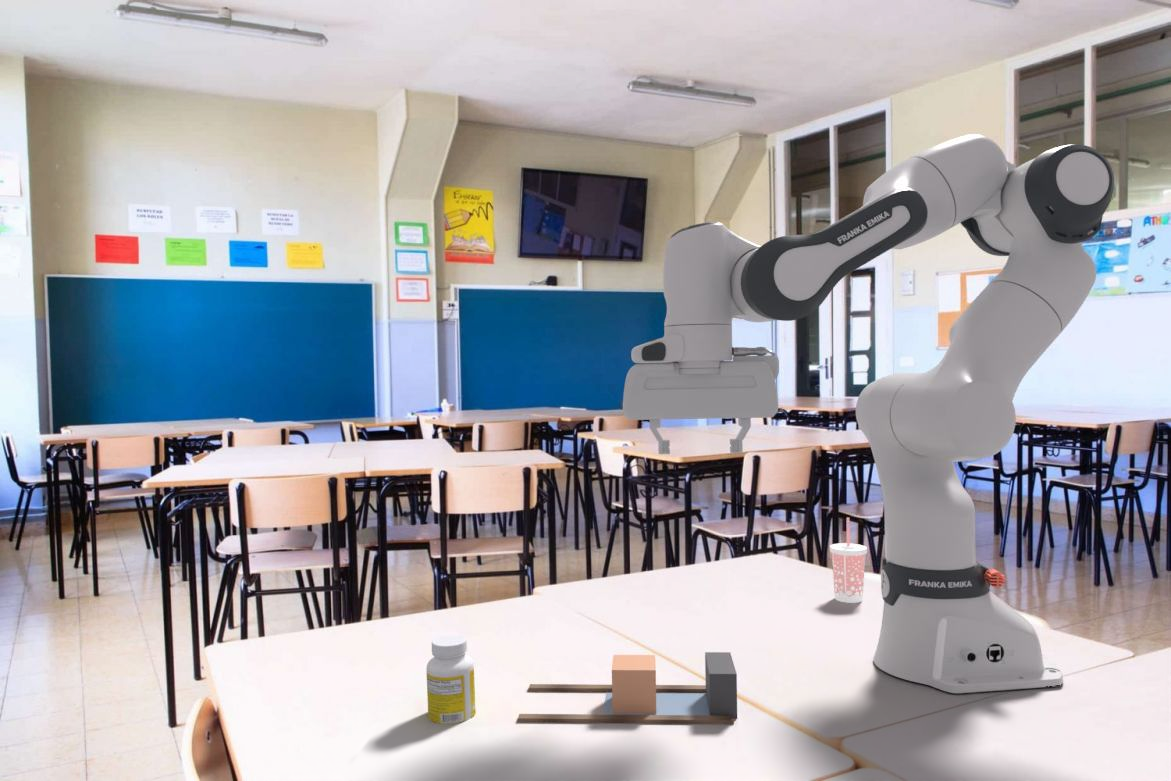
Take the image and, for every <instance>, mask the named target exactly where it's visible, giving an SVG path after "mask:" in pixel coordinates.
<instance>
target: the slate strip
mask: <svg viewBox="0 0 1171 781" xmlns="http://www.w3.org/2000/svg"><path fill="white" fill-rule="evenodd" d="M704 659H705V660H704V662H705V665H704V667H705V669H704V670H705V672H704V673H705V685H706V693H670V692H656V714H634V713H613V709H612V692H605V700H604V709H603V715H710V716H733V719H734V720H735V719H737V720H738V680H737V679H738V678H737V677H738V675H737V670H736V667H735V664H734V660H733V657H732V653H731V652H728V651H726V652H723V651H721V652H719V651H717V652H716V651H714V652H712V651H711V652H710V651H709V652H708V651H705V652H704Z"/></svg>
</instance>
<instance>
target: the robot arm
mask: <svg viewBox="0 0 1171 781" xmlns="http://www.w3.org/2000/svg"><path fill="white" fill-rule="evenodd" d="M1016 166H1017V165H1016V164H1014V163H1011V162H1010V161H1008V160H1007V158H1006V155H1005V153H1004V151H1003V149H1002V148H1001V147H1000V146H999V145H998V144H997V143H996V142H995V141H994V140H993V139H991V138H989V137H988V136H985V135H982V134H976V133H972V134H971V133H970V134H966V135H963V136H958V137H956V138H951V139H949V140H947V141H943V142H941V143H939V144H936V145H933V146H931V147H929V148H926V149H924V150H921V151H920V152H918V153H916V154H914V155H911V156H910V157H908V158H906V159H904V160H902V161H901V162H899V163H897V164H896V165H894V166H893V167H891V168H890V169H888V170H887V171H886V172H884V173H883V174H882V175H881V176H879V177H878V178H877V179H876V180H875V181H873V182H872V183H871V184H870V185H868V187H867V188H866V190H865V192H864V196H863V202H862V206H860V208H858V209H856V210H855V211H853V212H851V213H850V214H848V215H845V216H844V217H842V218H841V219H838V220H837V221H834V222H833V223H832V224H830V225H828V226H827V227H824V228H822V229H820V230H819V231H817V232H814V233H810V234H793V235H792V234H791V235H784V236H779V237H778V236H777V237H776V238H773V239H771V240H768V241H767V242H765V243H764V244H762V245H759V244H755V243H753V242H751V241H749V240H747V239H744V238H743V237H741V236H739V235H737V234H736V233H735V232H733V231H731V230H730V229H729V228H728V227H726V225H725V224H724V223H723V222H717V221H710V222H708V221H707V222H701V223H697V224H693V225H689V226H686V227H683V228H681V229H679V230H677V231H676V232H674V233H673V234H672V235H671V236H670V237H669V238H668V240H667V243H666V247H665V252H664V258H663V260H664V261H663V282H662V283H663V296H664V299H665V304H666V315H665V319H664V323H663V325H664V326H663V327H664V328H663V330H664V335H663V337H659V338H654V339H653V338H652V339H650V340H649V341H648V342H645V343H642V344H639V345H637V346H634V347H633V348H632V349H631V353H630V354H631V361H632V362H633V363H635V364H634V365H633V366H631V367H630V368H629V370H628V372H627V373H626V377H625V380H624V386H623V387H624V388H623V398H622V414H623V416H624V418H626V419H627V420H629V421H642V420H646V421H648V420H649V429H650V432H652V435H654V438H655V439H656V442H657V443H658V444H657V446H658V448H657V449H658V455H671V454H670V453H671V452H670V450H671V449H670V446H671V445H670V439H663V437H662V436H661V433H660V432H659V430H658V429H660V428H661V420H697V419H698V420H699V419H701V420H702V419H705V420H707V419H708V420H709V419H710V420H711V419H713V420H714V419H737V423H738V426H739V427H741V428H740V429H739V432H738V434H736V437H735V438H730V439H729V445H730V446H729V451H730V454H743V449H744V448H743V441H744V439H745V438H746V437H747V434H748V432H749V431H750V429H751V427H752V426H751V424H752V423H751V419H755V418H756V419H757V418H759V419H761V418H762V419H763V418H765V419H766V418H771V419H772V418H774V417H775V416H776V414H778V411H779V398H778V391H777V384H776V379H777V378H778V376H779V372H780V360H779V357H778V355H777V354H776V353H775V352H774V351H772V350H770V349H768V348H767V347H765V346H756V347H748V346H747V347H744V346H743V347H740V346H739V347H734V346H733V318H735V319H739V320H744V321H747V322H752V323H765V322H766V323H767V322H774V321H783V322H784V321H785V322H789V321H797V320H800V319H803V318H806V317H808V316H809V315H811V314H812V313H814V312H815V311H816V310H817V309H818V308H820V307H821V305H822V304H823V303H824V301H825V300H826V299H827V298H828V296H829V295H830V293H831V292H832V291H833V290H834V287H835V286H837V284H838V283H839V282H840V281H841V280H842V279H844V277H846V276H847V275H849V274H850V273H852V272H854V271H855V270H857V269H859V268H860V267H862V266H864V265H866V264H867V263H869V262H871V261H873V260H875V259H877V258H878V257H879V256H881V255H883V254H885V253H886V252H888V251H889V250H892V249H893V250H894V249H895V250H903V249H906V248H910V247H913V246H916V245H918V244H922V243H924V242H926V241H928V240H932V239H933V238H936V237H937V236H939V235H941V234H943V233H945V232H947V231H948V230H950V229H952V228H954V227H956V226H957V225H959V224H960V225H961V227H963V228H964V229H965V230H966V232H967V234H968V236H969V237H970V239H971V241H972V242H973V243H974V244H975V246H977V247H978V248H979V249H980V250H981V251H983V252H985V253H987V254H989V255H992V256H995V257H1007V260H1006V263H1005V264H1004V266H1003V268H1002V270H1001V271H1000V272H998V274H997V275H996V276H995V277H994V278H992V279H991V281H990V282H989V283H988V284H987V285H986V286H985V287H984V288H983V290H982V291H981V292H979V294H978V295H977V296H976V297H975V298H974V300H973V301H972V302H971V303H970V304H969V305H968V306H967V307H966V309H964V310H963V312H961V314H959V316H958V317H957V319H955V321H954V322H952V324H951V327H950V329H949V333H948V335H949V337H948V338H949V343H950V344H949V346H948V348H947V350H946V352H945V354H944V356H943V357H942V359H941V361H940V362H939V363H937V364H936V366H934V367H933V368H931V369H930V370H928V371H925V372H897V373H892V374H889V375H886V376H883V377H881V378H878V379H876V380H873V381H872V382H870V383H869V384H867V385H866V386H865V387H864V388H863V389H862V391H861V392H860V394H859V396H858V398H857V401H856V404H855V419H856V423H857V425H858V427H859V429H860V431H861V432H862V433H863V435H864V436H865V438H866V439H867V441H868V443H869V446H870V449H871V452H872V453H871V454H872V457H873V460H874V464H875V467H876V472H877V475H878V480H879V483H880V488H881V493H882V500H883V508H884V513H883V514H884V545H885V546H884V548H885V549H884V550H885V555H884V556H883V557H882V560H881V570H880V590H881V596H882V597H881V598H882V600H883V609H882V610H883V611H882V619H881V625H880V632H879V638H878V641H877V646H876V649H875V652H874V655H873V658H872V659H873V664H875V666H876V667H877V668H879V670H882V671H883V672H885V673H886V674H889V675H891V676H894V677H897V678H900V679H902V680H906V681H909V682H914V683H918V684H923V685H927V686H930V687H933V688H934V689H935V688H936V689H938V690H941V691H943V692H947V693H950V694H966V693H968V694H969V693H970V694H971V693H980V692H981V693H982V692H993V691H994V692H995V691H996V692H997V691H1009V690H1010V691H1011V690H1022V689H1024V690H1025V689H1037V688H1039V689H1040V688H1050V687H1049V686H1052V687H1056V686H1055V685H1060V684H1062V685H1063V683H1062V682H1064V678H1063V672H1062V670H1061V669H1060V667H1059V666H1058V665H1057V664H1056V663H1055V662H1054V661H1053V660H1052V659H1050V658H1049V657H1047V656H1045V655H1043V651H1042V646H1041V642H1040V639H1039V635H1038V633H1037V631H1036V629H1035V628H1034V626H1033V624H1032V623H1031V622H1030V621H1029V620H1028V619H1026V617H1024V615H1022V614H1020V613H1019V612H1018V611H1016V610H1015V609H1014V608H1013V607H1012V606H1010V605H1009V604H1008V603H1006V602H1005V600H1004V601H1003V599H1001V598H1000V597H998V596H997V595H996V594H994V593H993V592H991V586H992V587H993V588H995V589H999V588H1002V587H1003V586H1004V585H1005V584H1006V581H1007V579H1006V576H1005V575H1004V574H1003V573H1002V572H1000V571H998V569H996V568H988V567H987V566H984V565H982V564H981V563H979V562H978V561H976V509H975V508H976V507H975V505H974V504H975V503H974V502H973V499H972V497H971V496H970V494H969V493H968V492H967V491H966V489H965V487H964V486H963V485H962V482H961V480H960V478H959V476H958V473H957V470H956V466H955V463H957V462H959V463H960V462H967V461H975V460H981V459H987V458H990V457H992V456H995V455H997V454H998V453H999V452H1001V451H1003V450H1004V449H1005V447H1006V446H1007V445H1008V444H1009V442H1010V440H1011V439H1012V437H1013V434H1014V432H1015V428H1016V420H1017V417H1016V416H1017V414H1016V409H1015V406H1014V403H1013V400H1014V397H1015V394H1016V392H1017V391H1018V387H1019V386H1020V384H1021V383H1022V380H1023V379H1024V377H1025V376H1026V374H1027V373H1028V372H1029V370H1030V369H1031V368H1032V366H1034V365H1035V364H1036V363H1037V361H1038V360H1039V359H1040V357H1041V356H1042V355H1043V354H1044V352H1046V351H1047V349H1049V347H1050V346H1051V345H1052V344H1053V343H1054V341H1056V339H1057V338H1058V337H1059V336H1060V334H1061V333H1062V332H1063V331H1064V330H1065V328H1066V327H1067V326H1068V325H1069V324H1070V323H1071V321H1073V319H1074V317H1075V316H1076V315H1077V313H1078V311H1079V310H1080V309H1081V307H1082V306H1083V304H1084V303H1085V301H1086V299H1087V297H1088V296H1089V294H1090V292H1091V291H1092V288H1093V286H1094V284H1095V283H1096V281H1097V280H1096V279H1097V268H1096V264H1095V261H1094V259H1093V258H1092V257H1091V255H1090V254H1089V252H1088V251H1087V250H1085V249H1084V248H1085V247H1084V246H1083V242H1086V241H1088V240H1090V239H1092V238H1094V237H1095V236H1097V234H1098V233H1099V231H1100V230H1101V228H1102V222H1103V217H1104V214H1105V213H1106V211H1107V209H1108V207H1109V205H1110V203H1111V201H1112V197H1113V193H1114V189H1115V177H1114V176H1115V175H1114V171H1113V169H1112V168H1113V167H1112V166H1111V164H1110V162H1109V161H1108V159H1107V158H1106V157H1105V156H1104V155H1103V153H1101V152H1100V151H1099V150H1097V149H1096V148H1094V147H1091V146H1088V145H1084V144H1066V145H1061V146H1058V147H1053V148H1051V149H1050V148H1049V149H1048V150H1045V151H1044V152H1042V153H1040V154H1039V155H1037V156H1036V157H1035V158H1033V159H1032V158H1031V159H1030V160H1028V161H1026V162H1024V163H1022V164H1021V165H1019V166H1017V167H1016ZM768 354H770V355H768ZM954 462H955V463H954ZM1046 686H1048V687H1046ZM1060 686H1061V685H1060Z"/></svg>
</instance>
